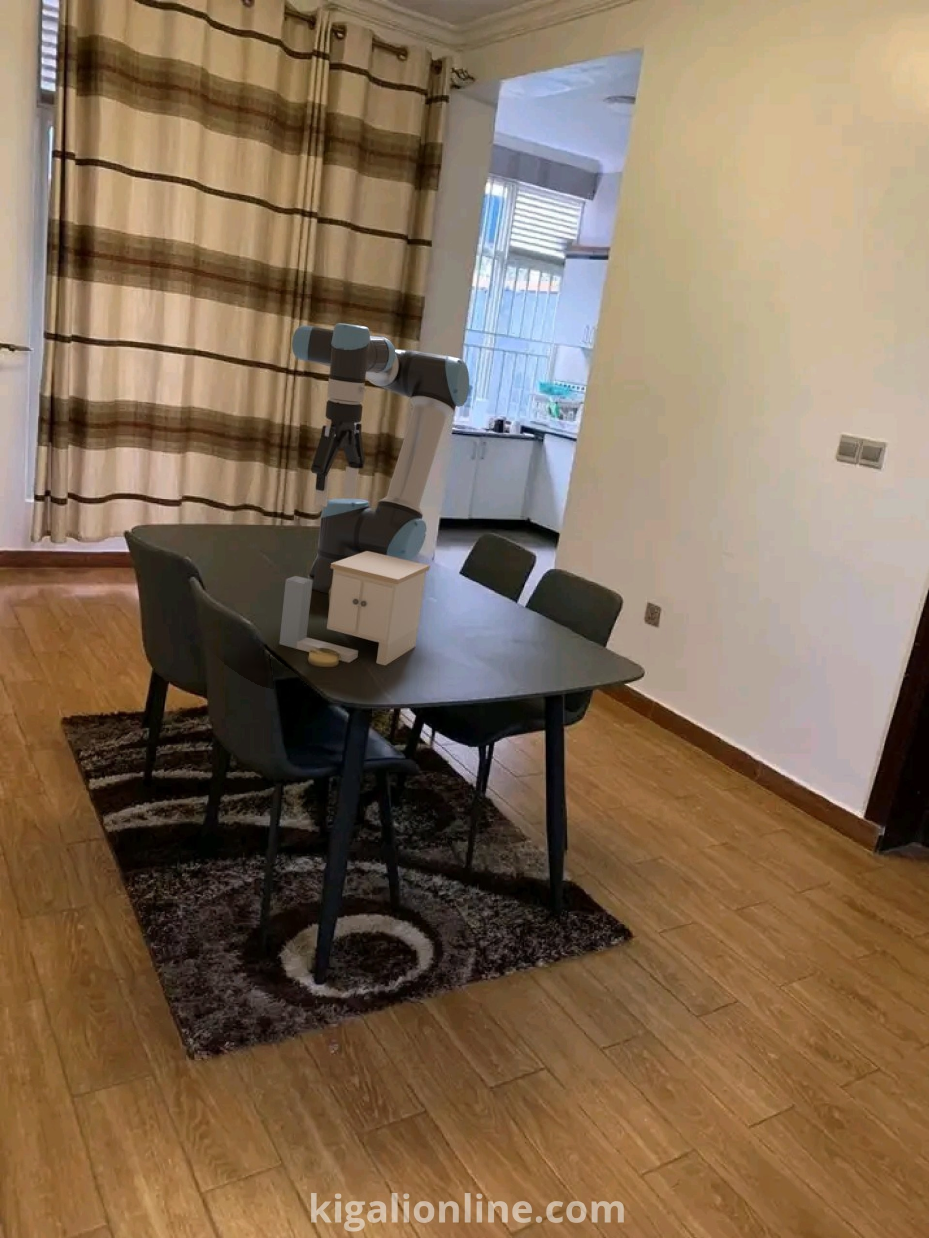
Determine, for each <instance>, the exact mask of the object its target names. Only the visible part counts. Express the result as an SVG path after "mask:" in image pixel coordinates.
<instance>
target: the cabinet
mask: <svg viewBox="0 0 929 1238" xmlns="http://www.w3.org/2000/svg"><path fill="white" fill-rule="evenodd" d="M430 566H431V565H430V564H425V563H420V562H417V561H413V560H411V561H408V560H404V559H400V558H395V557H391V556H387V555H383V554H378V553H374V552H370V551H365V552H362V553H360V554H357V555H354V556H351V557H348V558H345V559H342V560H339V561H336V562H334V563H331V568H332V569H334V571H333V580H332V588H331V597H330V605H329V606H328V617H327V622H326V623H327V624H326V629H327V630H329V631H334V632H337V633H338V632H339V633H343V634H346V635H349V636H354V637H357V638H361V639H365V640H368V641H371V642H375V643H378V648H377V657H376V664H379V665H381V666H387V665H389V664H390V663H392V662H393V661H395V660H396V659H398V658H399V657H401V656H403V655H404V654H406V653H407V652H409V651H410V650H412V649H413V648H415V647H416V643H417V637H418V629H419V623H420V616H421V609H422V601H423V596H424V589H425V588H424V587H425V581H426V575H427V572H428V571H430Z"/></svg>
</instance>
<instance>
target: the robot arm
mask: <svg viewBox="0 0 929 1238" xmlns="http://www.w3.org/2000/svg"><path fill="white" fill-rule="evenodd" d="M291 341H292V342H291V350H292V353H293V355H294V357H295V358H296V359H298V360H300V361H305V362H307V363H313V364H314V363H315V364H319V365H321V366H327V367H329V376H328V383H327V394H326V396H327V398H328V400H327V401H326V403H325V404H326V405H325V418H326V419H328V420H330V426H329V425H322V427H321V435H320V438H319V441H318V446H317V448H316V452H315V454H314V458H313V461H312V465H311V468H310V471H311V473H312V474H315V475H316V477H315V478H316V479H315V485H314V486H315V487H314V498H313V505H316V506H319V507H322V509H321V515H320V526H319V535H318V542H317V543H318V544H317V554H316V558H315V559H314V561H313V563H312V566H311V568H310V571H309V573H308V574H307V579H311V580H313V581H312V590H313V591H314V590H315V591H317V592H321V593H325V594H329V590H330V588H331V585H332V580H333V571H334V569H332V568H331V563H334V562H336V561H339V560H342V559H345V558H348V557H351V556H354V555H357V554H360V553H362V552H365V551H370V552H374V553H378V554H383V555H387V556H391V557H395V558H400V559H404V560H408V561H413V560H414V559H415V558H416V557H417V556H418V555H419V553H420V551H421V550H422V548H423V545H424V542H425V540H426V536H427V534H426V532H427V524H426V522H425V520H423V517H424V513H423V511H422V510H421V508H420V507H421V502H422V500H423V499H422V498H423V496H424V492H425V489H426V485H427V483H428V479H429V475H430V474H431V469H432V466H433V462H434V459H435V456H436V452H437V451H438V450H437V449H438V446H439V443H440V439H441V435H442V432H443V430H444V429H443V428H444V426H445V423H446V420H447V419H448V418H451V417H452V416H453V415H454V413H455V410H456V407H458V408H460V407H464V405H465V404H466V402H467V400H468V397H469V391H470V374H469V370H468V369H469V368H468V365H467V364H466V362H465V361H464V360H462V359H461V358H459V357H455V356H454V357H453V356H450V355H443V354H436V353H432V352H431V353H430V352H423V351H418V350H411V349H398V348H396V347H395V346H394V344H393V343H392V341H391V340H389V339H388V338H386V337H383V336H381V335H371V331H370V329H369V327H367V326H363V325H357V324H349V323H344V322H343V323H341V322H339V323H336V324H335V325H334V327H333V329H330V328H323V327H316V326H314V325H311V326H310V325H300V326H298V327H297V328H296V330H295V331H294V332H293V336H292V340H291ZM366 379H367V380H368V382H370V383H371V384H372V385H375V386H376V387H379V388H383V389H385V390H388V391H390V392H392V393H395V394H398V395H400V396H403V397H406V398H409V403H410V404H411V406H412V412H411V415H410V418H409V421H408V426H407V428H406V433H405V435H404V438H403V442H402V444H401V448H400V451H399V455H398V456H397V457H398V458H397V460H396V463H395V468H394V471H393V474H392V478H391V480H390V484H389V488H388V491H387V493H386V496H385V497H384V498H382V499H379V500H378V503H377V506H376V508H375V509H374V508H371V504H370V501H369V500H365V499H361V498H357V497H356V496H357V489H358V479H359V469H362V470H363V468H364V467H365V466H364V465H365V454H364V447H363V445H364V444H363V437H362V427H363V425H362V423H360V422H361V421H362V417H363V409H364V408H363V405H362V404H361V403H362V402H363V401H364V394H365V393H366V390H367V389H366V388H365V386H366V385H365V384H366ZM342 448H343V451H344V455H345V458H346V460H347V465H348V466H345V474H344V475H345V476H344V485H343V497H347V498H332V499H328V498H329V490H330V489H329V488H330V480H331V479H330V478H331V476H330V475H329V472H330V470H331V468H332V465H333V463H334V460H335V459H336V457H337V455H338V452H339V451H340V450H342Z"/></svg>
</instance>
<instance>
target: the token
mask: <svg viewBox="0 0 929 1238" xmlns="http://www.w3.org/2000/svg"><path fill="white" fill-rule="evenodd" d="M307 661H308V663H309V664H311V665H313V666H316V667H321V668H322V667H323V668H333V667H336V666H338V665H339V661H340V660H339V653H338V652H336V651H334V650H331V649H326V648H313V649H311V650H310V651H309V652H308V660H307Z"/></svg>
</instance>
